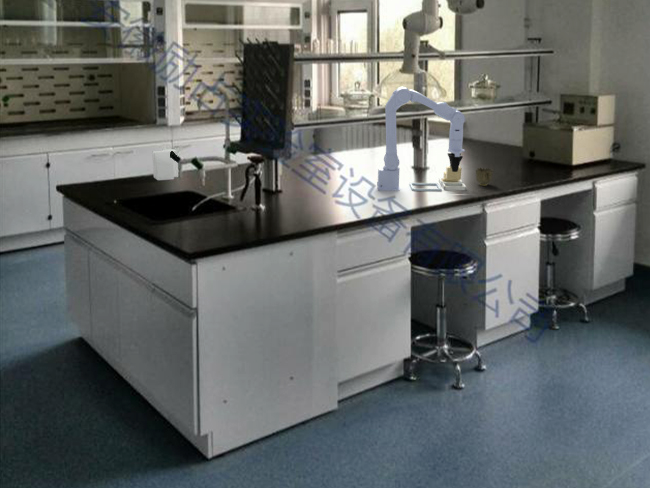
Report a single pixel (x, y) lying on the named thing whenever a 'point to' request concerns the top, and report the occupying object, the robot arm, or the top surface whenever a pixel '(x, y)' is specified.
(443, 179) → the billet
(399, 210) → the top surface
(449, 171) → the billet
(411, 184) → the tote
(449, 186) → the grey rectangular tray
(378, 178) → the robot arm
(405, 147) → the top surface
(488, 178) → the cup
